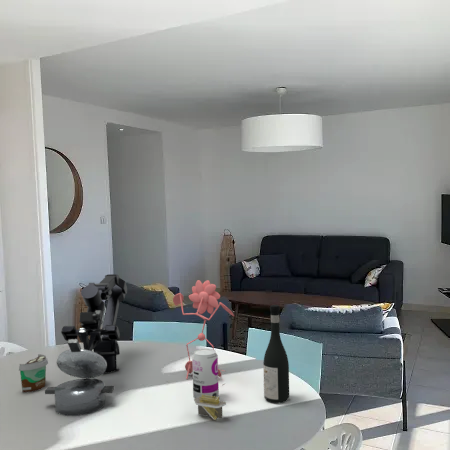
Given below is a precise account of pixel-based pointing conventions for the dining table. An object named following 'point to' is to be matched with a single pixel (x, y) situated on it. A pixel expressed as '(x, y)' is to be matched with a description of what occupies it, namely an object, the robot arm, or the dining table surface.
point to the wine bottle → (276, 364)
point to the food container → (33, 374)
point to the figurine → (201, 309)
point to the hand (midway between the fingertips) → (86, 355)
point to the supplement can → (205, 373)
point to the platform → (210, 406)
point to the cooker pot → (79, 396)
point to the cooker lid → (81, 361)
